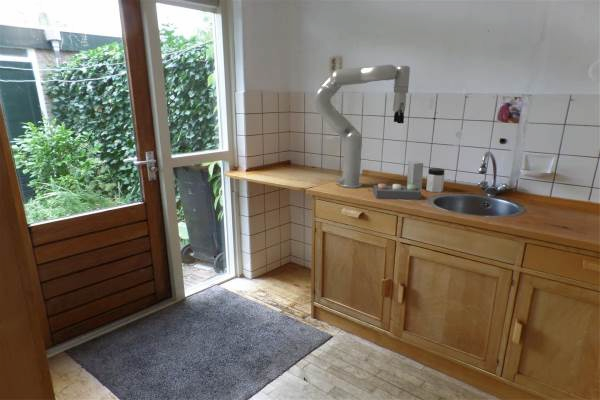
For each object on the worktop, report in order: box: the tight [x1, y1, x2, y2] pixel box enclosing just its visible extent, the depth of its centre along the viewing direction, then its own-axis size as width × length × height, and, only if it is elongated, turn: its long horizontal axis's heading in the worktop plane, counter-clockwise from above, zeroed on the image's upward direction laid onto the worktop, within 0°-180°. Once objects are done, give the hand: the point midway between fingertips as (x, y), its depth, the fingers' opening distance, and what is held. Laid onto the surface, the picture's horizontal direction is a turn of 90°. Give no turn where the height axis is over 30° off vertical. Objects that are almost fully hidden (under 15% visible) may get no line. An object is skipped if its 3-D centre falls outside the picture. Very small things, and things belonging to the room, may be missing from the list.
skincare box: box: [406, 160, 424, 190], centre depth 222 cm, size 8×6×15 cm
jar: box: [425, 167, 445, 193], centre depth 216 cm, size 9×8×12 cm
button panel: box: [373, 184, 422, 201], centre depth 203 cm, size 22×12×4 cm, turn 87°
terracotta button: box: [377, 183, 388, 189], centre depth 203 cm, size 4×4×4 cm
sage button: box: [406, 184, 416, 190], centre depth 203 cm, size 4×4×4 cm
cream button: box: [392, 183, 402, 190], centre depth 203 cm, size 4×4×4 cm
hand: (398, 122), depth 214 cm, fingers open, 9 cm apart
